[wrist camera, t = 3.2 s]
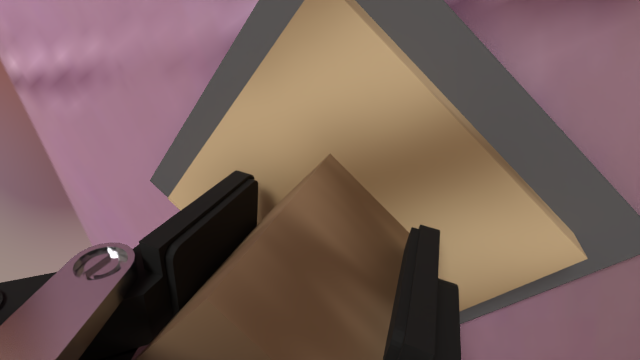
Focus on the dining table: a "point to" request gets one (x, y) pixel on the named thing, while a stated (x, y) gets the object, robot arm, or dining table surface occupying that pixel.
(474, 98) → the dark gray mat
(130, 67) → the dining table surface
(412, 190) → the oak lid
